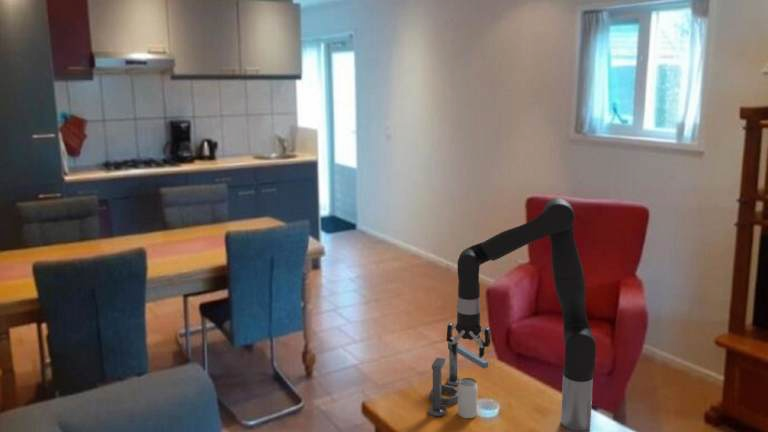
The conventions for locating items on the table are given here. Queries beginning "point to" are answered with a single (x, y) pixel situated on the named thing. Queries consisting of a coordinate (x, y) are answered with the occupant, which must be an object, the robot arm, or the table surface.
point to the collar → (449, 400)
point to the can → (467, 398)
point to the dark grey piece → (437, 390)
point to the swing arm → (469, 356)
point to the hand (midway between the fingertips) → (468, 355)
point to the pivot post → (452, 370)
